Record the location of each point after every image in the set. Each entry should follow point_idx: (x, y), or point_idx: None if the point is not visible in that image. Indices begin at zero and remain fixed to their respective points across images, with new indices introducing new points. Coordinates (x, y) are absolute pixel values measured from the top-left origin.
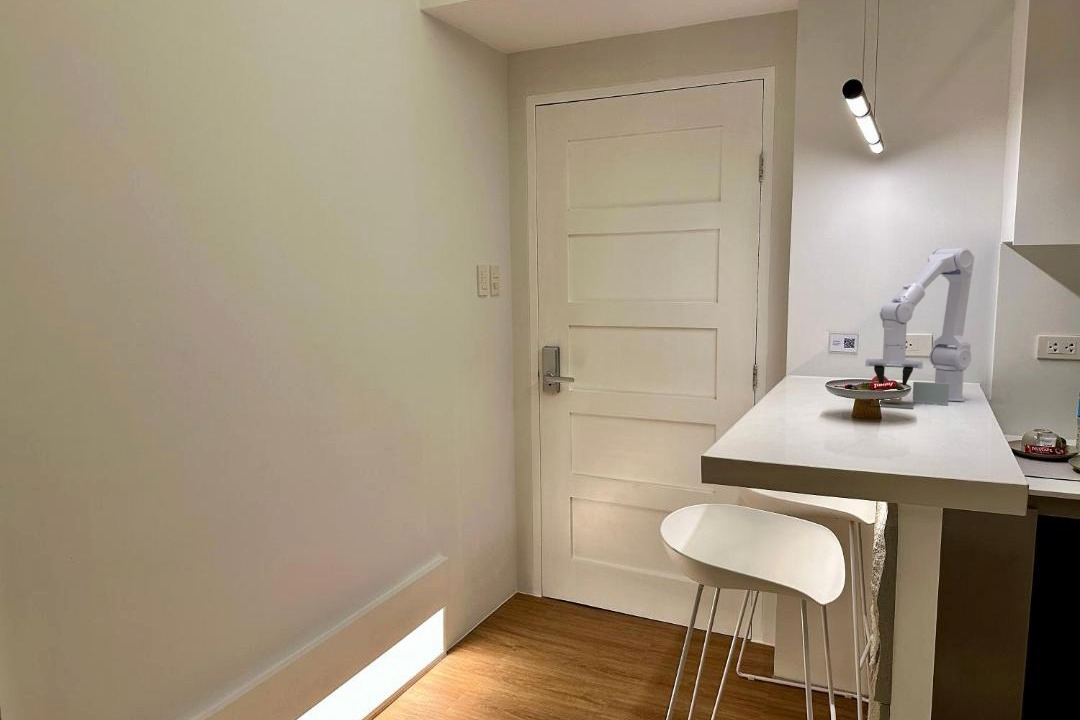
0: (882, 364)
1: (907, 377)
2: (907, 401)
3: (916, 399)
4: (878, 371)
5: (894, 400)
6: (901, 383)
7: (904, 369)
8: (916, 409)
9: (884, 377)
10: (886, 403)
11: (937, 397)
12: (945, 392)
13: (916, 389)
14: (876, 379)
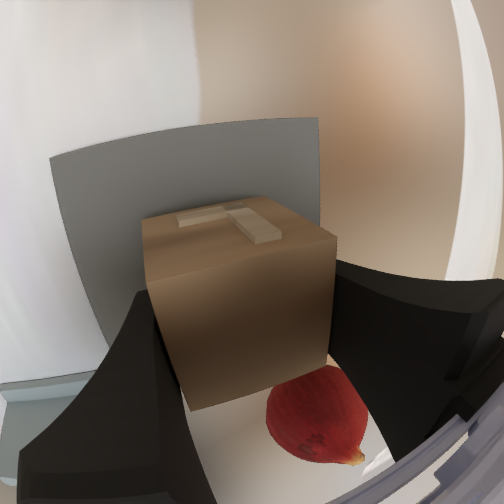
0: (500, 405)
1: (88, 394)
2: None
3: None
4: (479, 291)
5: (185, 211)
6: (185, 384)
7: (130, 501)
8: (33, 166)
9: (323, 452)
10: None
11: (36, 417)
12: (8, 439)
13: None
14: (355, 418)
